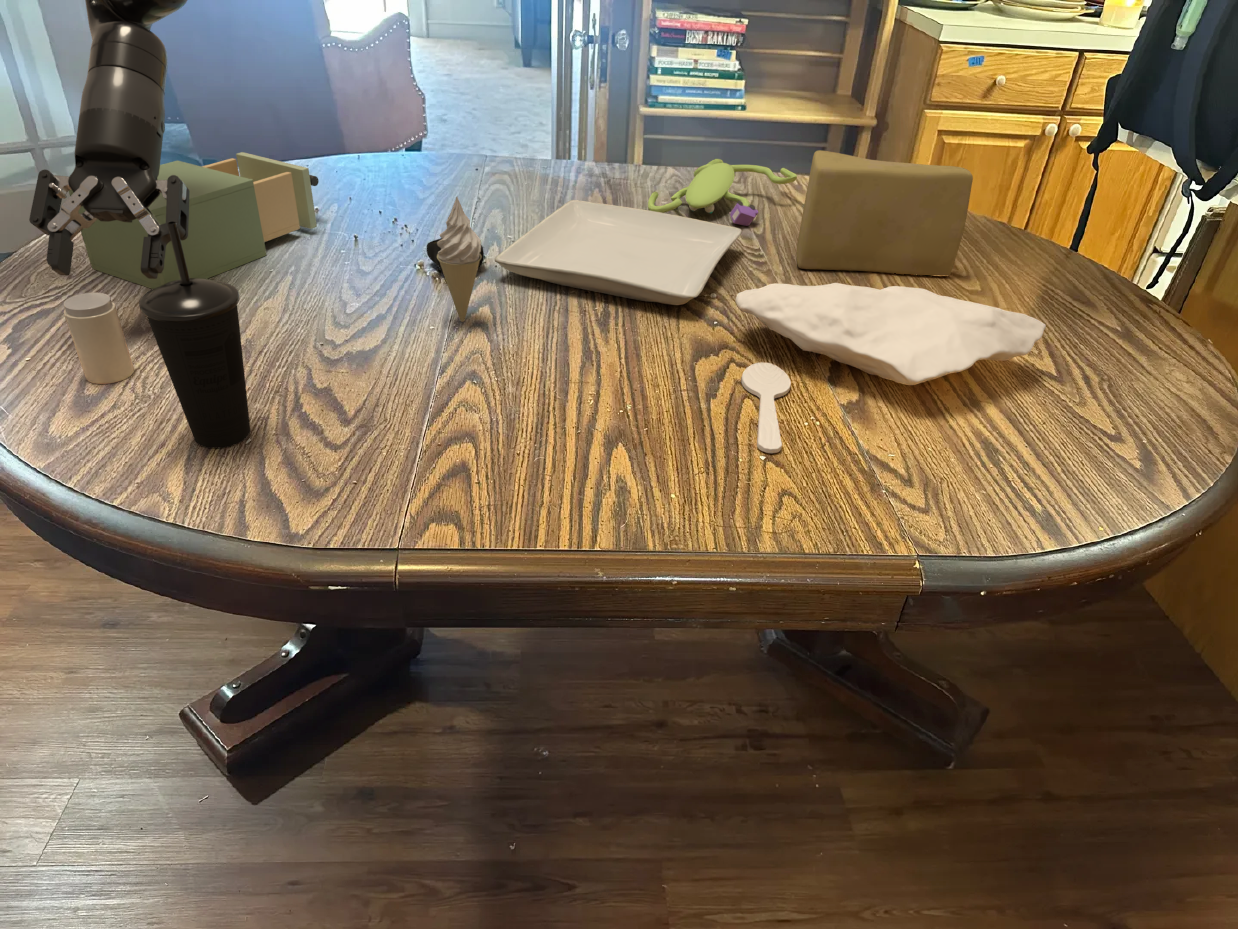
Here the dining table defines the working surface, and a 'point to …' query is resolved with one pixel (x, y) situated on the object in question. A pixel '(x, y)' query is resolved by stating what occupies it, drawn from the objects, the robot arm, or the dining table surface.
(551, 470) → the dining table surface
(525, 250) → the square plate
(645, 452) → the dining table surface
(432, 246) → the tape measure
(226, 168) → the drawer
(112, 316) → the salt shaker
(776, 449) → the spoon
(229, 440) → the drinking cup
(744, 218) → the figurine
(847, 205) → the brown rectangular block
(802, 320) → the white rock slab
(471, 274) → the ice cream cone
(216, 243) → the cabinet
